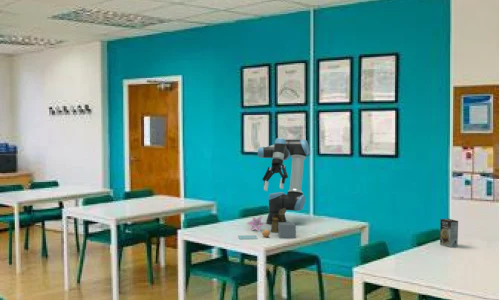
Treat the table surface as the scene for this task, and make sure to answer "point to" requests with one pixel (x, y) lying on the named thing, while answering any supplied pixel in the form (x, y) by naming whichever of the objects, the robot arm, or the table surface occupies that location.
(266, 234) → the ball
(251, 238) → the tape square
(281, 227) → the matte grey cube
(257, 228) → the lily
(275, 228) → the wooden mug
